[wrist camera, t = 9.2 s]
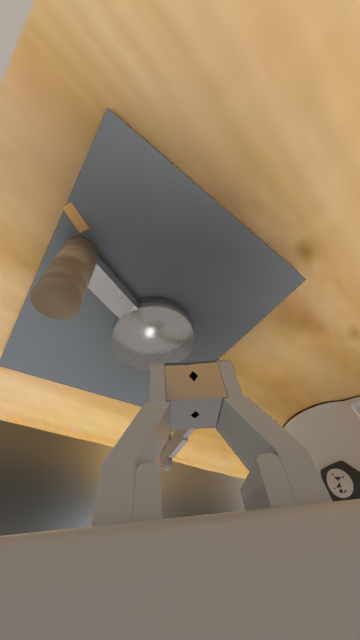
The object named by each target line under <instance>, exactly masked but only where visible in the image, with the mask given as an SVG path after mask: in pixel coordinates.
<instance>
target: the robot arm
mask: <svg viewBox="0 0 360 640" xmlns="http://www.w3.org/2000/svg"><path fill="white" fill-rule="evenodd" d="M197 428H216V429H217V431H218V432H219V433H220V434H221V436H222V437H223V438H224V440H225V441H226V442H227V443H228V445H229V446H230V447H231V449H232V450H233V451H234V452H235V454H236V455H237V456H238V457H239V459H240V460H241V461H242V463H243V464H244V465H245V466H246V468H247V469H248V470H249V474H248V476H247V477H246V479H245V481H244V483H243V485H242V487H241V489H240V491H241V496H242V500H243V504H244V508H245V511H237V512H228V513H219V514H208V515H199V516H190V517H179V518H170V519H162V498H161V468H160V466H159V465H158V464H156V461H157V459H158V457H159V455H160V453H161V451H162V449H163V447H164V445H165V442H166V440H167V438H168V436H169V434H170V431H174V430H185V429H197ZM0 640H360V397H356V398H352V399H349V400H346V401H338V402H330V403H325V404H321V405H318V406H315V407H312V408H310V409H308V410H306V411H304V412H302V413H300V414H298V415H297V416H295V417H294V418H292V419H291V420H290V421H289V422H288V423H287V424H286V425H285V427H284V428H283V427H281V426H280V425H279V424H278V423H277V422H276V421H275V420H273V419H272V418H271V417H270V416H269V415H268V414H267V413H265V412H264V411H263V410H262V409H261V408H260V407H259V406H257V405H256V404H255V403H254V402H253V401H252V400H251V399H249V398H248V397H243V394H242V391H241V388H240V385H239V382H238V380H237V377H236V374H235V371H234V368H233V366H232V363H231V361H230V360H222V361H200V362H184V363H151V364H150V400H149V403H145V404H144V405H143V407H142V408H141V410H140V411H139V412H138V414H137V415H136V417H135V418H134V420H133V421H132V422H131V424H130V425H129V427H128V428H127V430H126V431H125V432H124V434H123V435H122V437H121V438H120V439H119V441H118V442H117V444H116V445H115V447H114V448H113V449H112V451H111V452H110V454H109V455H108V456H107V458H106V460H105V461H104V462H103V464H102V465H101V471H100V477H99V483H98V489H97V496H96V502H95V508H94V515H93V520H92V526H91V527H84V528H74V529H64V530H55V531H46V532H35V533H26V534H17V535H6V536H0Z"/></svg>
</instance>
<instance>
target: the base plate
mask: <svg viewBox="0 0 360 640" xmlns="http://www.w3.org/2000/svg"><path fill="white" fill-rule="evenodd" d="M62 209H63V210H64V211H63V213H62V216H61V218H60V220H59V223H58V225H57V227H56V230H55V232H54V235H53V237H52V239H51V242H50V244H49V246H48V249H47V251H46V253H45V256H44V258H43V260H42V263H41V265H40V267H39V270H38V272H37V274H36V277H35V279H34V282H33V284H32V286H31V289H30V291H29V293H28V296H27V298H26V300H25V303H24V305H23V307H22V310H21V312H20V314H19V317H18V319H17V322H16V324H15V326H14V329H13V331H12V333H11V336H10V338H9V340H8V343H7V345H6V347H5V350H4V352H3V354H2V357H1V359H0V366H1V367H4V368H8V369H11V370H15V371H18V372H22V373H25V374H29V375H32V376H36V377H39V378H43V379H46V380H50V381H53V382H57V383H60V384H64V385H67V386H71V387H74V388H78V389H81V390H85V391H88V392H92V393H95V394H99V395H102V396H106V397H109V398H113V399H116V400H120V401H123V402H127V403H130V404H134V405H138V406H141V407H143V405H144V404H145V403H149V400H150V370H141V369H137V368H133V367H131V366H129V365H127V364H125V363H124V362H122V361H121V360H120V359H119V358H118V357H117V356H116V354H115V353H114V351H113V348H112V343H111V341H112V333H113V327H114V322H115V319H116V317H117V316H116V315H115V314H114V313H113V312H112V311H111V310H110V309H109V308H108V307H107V306H106V305H105V304H104V303H103V302H102V301H101V300H100V299H99V298H98V297H97V296H96V295H95V294H94V293H93V292H92V291H91V290H90V289H89V288H87V291H86V293H85V296H84V299H83V301H82V304H81V307H80V310H79V312H78V313H77V314H76V315H75V316H74V317H72V318H69V319H65V320H57V319H52V318H49V317H46V316H44V315H43V314H41V313H40V312H38V311H37V310H36V309H35V307H34V306H33V304H32V302H31V299H30V294H31V291H32V289H33V287H34V286H35V285H36V283H37V282H38V281H39V279H40V278H41V276H42V275H43V274H44V272H45V271H46V269H47V268H48V267H49V265H50V264H51V263H52V261H53V260H54V258H55V257H56V256H57V254H58V253H59V251H60V250H61V249H62V247H63V246H64V244H65V243H66V242H67V241H68V240H69V239H70V238H73V237H83V238H86V239H88V240H90V241H91V242H92V243H93V244H94V245H95V246H96V248H97V250H98V254H99V258H100V259H101V260H102V261H103V262H104V264H105V265H106V266H107V267H108V268H109V269H110V270H111V271H112V273H113V274H114V275H115V276H116V277H117V278H118V279H119V280H120V282H121V283H122V284H123V285H124V286H125V287H126V288H127V289H128V291H129V292H130V293H131V294H132V295H133V296H134V297H135V298H136V300H140V299H144V298H163V299H167V300H170V301H172V302H175V303H176V304H178V305H180V306H181V307H182V308H183V309H184V310H185V311H186V312H187V314H188V316H189V318H190V321H191V325H192V329H193V333H194V345H193V348H192V350H191V352H190V353H189V355H188V356H187V357H186V358H185V359H184V360H182V361H181V362H180V363H184V362H200V361H217V360H218V359H219V358H220V357H221V356H222V355H223V354H225V353H226V352H227V351H228V350H229V349H230V348H231V347H232V346H233V345H234V344H236V343H237V342H238V341H239V340H240V339H241V338H242V337H243V336H244V335H245V334H247V333H248V332H249V331H250V330H251V329H252V328H253V327H254V326H255V325H256V324H258V323H259V322H260V321H261V320H262V319H263V318H264V317H265V316H266V315H268V314H269V313H270V312H271V311H272V310H273V309H274V308H275V307H276V306H277V305H279V304H280V303H281V302H282V301H283V300H284V299H285V298H286V297H287V296H288V295H290V294H291V293H292V292H293V291H294V290H295V289H296V288H297V287H298V286H299V285H301V284H302V283H303V282H304V281H305V280H306V279H305V278H304V277H303V276H302V275H301V274H300V273H299V272H298V271H296V270H295V269H294V268H293V267H292V266H291V265H290V264H288V263H287V262H286V261H285V260H284V259H283V258H281V257H280V256H279V255H278V254H277V253H276V252H274V251H273V250H272V249H271V248H270V247H269V246H268V245H266V244H265V243H264V242H263V241H262V240H261V239H259V238H258V237H257V236H256V235H255V234H254V233H252V232H251V231H250V230H249V229H248V228H247V227H245V226H244V225H243V224H242V223H241V222H240V221H239V220H237V219H236V218H235V217H234V216H233V215H232V214H230V213H229V212H228V211H227V210H226V209H225V208H223V207H222V206H221V205H220V204H219V203H218V202H217V201H215V200H214V199H213V198H212V197H211V196H210V195H208V194H207V193H206V192H205V191H204V190H203V189H201V188H200V187H199V186H198V185H197V184H196V183H195V182H193V181H192V180H191V179H190V178H189V177H188V176H186V175H185V174H184V173H183V172H182V171H181V170H179V169H178V168H177V167H176V166H175V165H174V164H173V163H171V162H170V161H169V160H168V159H167V158H166V157H164V156H163V155H162V154H161V153H160V152H159V151H157V150H156V149H155V148H154V147H153V146H152V145H151V144H149V143H148V142H147V141H146V140H145V139H144V138H142V137H141V136H140V135H139V134H138V133H137V132H135V131H134V130H133V129H132V128H131V127H130V126H128V125H127V124H126V123H125V122H124V121H123V120H122V119H120V118H119V117H118V116H117V115H116V114H115V113H113V112H112V111H111V110H110V109H108V108H107V110H106V112H105V115H104V117H103V119H102V122H101V124H100V126H99V129H98V131H97V133H96V136H95V138H94V140H93V143H92V145H91V147H90V150H89V152H88V155H87V157H86V159H85V162H84V164H83V166H82V169H81V171H80V173H79V176H78V178H77V180H76V183H75V185H74V187H73V190H72V192H71V195H70V197H69V199H68V202H67V204H66V205H65V206H63V207H62Z"/></svg>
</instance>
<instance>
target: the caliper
mask: <svg viewBox="0 0 360 640" xmlns="http://www.w3.org/2000/svg"><path fill="white" fill-rule="evenodd" d="M194 430H195V429H185V430H176V431H175V432H174V433H173V436H171V434H169V436H168V438H167V440H166V442H165V445H164V447H163V449H162V451H161V453H160V455H159V457H160V462H161V466H164V470H166V471H170V466H173V462H172V458H174V457H175V456H176V455H177V453H178V452H179V451H180V450H181V449H182V447H183V446H184V445H185V444H186V442H187V441H188V439H187V438H188V437H189V436H190V434H191V433H192V432H193V431H194Z"/></svg>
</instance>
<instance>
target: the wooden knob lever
mask: <svg viewBox="0 0 360 640" xmlns="http://www.w3.org/2000/svg"><path fill="white" fill-rule="evenodd" d="M87 288H89V289H90V290H91V291H92V292H93V293H94V294H95V295H96V296H97V297H98V298H99V299H100V300H101V301H102V302H103V303H104V304H105V305H106V306H107V307H108V308H109V309H110V310H111V311H112V312H113V313H114V314H115V315H116V316H117V317H116V319H115V322H114V327H113V333H112V341H111V343H112V348H113V351H114V353H115V354H116V356H117V357H118V358H119V359H120V360H121V361H122V362H124V363H125V364H127V365H129V366H131V367H133V368H137V369H141V370H150V364H151V363H180V362H181V361H182V360H184V359H185V358H186V357H187V356H188V355H189V353H190V352H191V350H192V348H193V345H194V333H193V329H192V325H191V321H190V318H189V316H188V314H187V312H186V311H185V310H184V309H183V308H182V307H181V306H180V305H178V304H176V303H175V302H172V301H170V300H167V299H163V298H144V299H140V300H136V298H135V297H134V296H133V295H132V294H131V293H130V292H129V291H128V289H127V288H126V287H125V286H124V285H123V284H122V283H121V282H120V280H119V279H118V278H117V277H116V276H115V275H114V274H113V273H112V271H111V270H110V269H109V268H108V267H107V266H106V265H105V264H104V262H103V261H102V260H101V259H100V258H99V254H98V250H97V248H96V246H95V245H94V244H93V243H92V242H91V241H90V240H88V239H86V238H83V237H73V238H70V239H69V240H68V241H67V242H66V243H65V244H64V246H63V247H62V249H61V250H60V251H59V253H58V254H57V256H56V257H55V258H54V260H53V261H52V263H51V264H50V265H49V267H48V268H47V269H46V271H45V272H44V274H43V275H42V276H41V278H40V279H39V281H38V282H37V283H36V285H35V286H34V287H33V289H32V291H31V294H30V299H31V302H32V304H33V306H34V307H35V309H36V310H37V311H38V312H40V313H41V314H43V315H44V316H46V317H49V318H52V319H57V320H65V319H69V318H72V317H74V316H75V315H76V314H77V313H78V312H79V310H80V307H81V304H82V301H83V299H84V296H85V293H86V291H87Z"/></svg>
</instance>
